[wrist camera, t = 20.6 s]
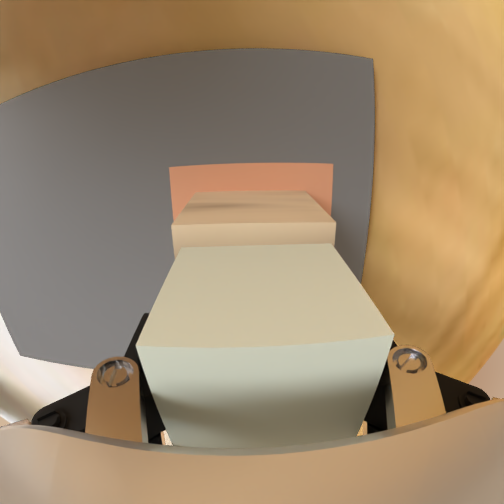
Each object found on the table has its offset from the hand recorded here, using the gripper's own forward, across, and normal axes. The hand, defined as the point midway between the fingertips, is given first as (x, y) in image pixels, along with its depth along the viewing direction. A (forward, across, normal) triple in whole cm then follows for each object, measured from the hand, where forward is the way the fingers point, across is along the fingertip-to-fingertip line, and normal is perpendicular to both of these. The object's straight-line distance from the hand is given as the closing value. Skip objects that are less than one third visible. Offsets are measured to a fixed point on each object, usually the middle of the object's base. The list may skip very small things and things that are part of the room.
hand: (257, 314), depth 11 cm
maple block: (+7, 0, 0) cm, 7 cm away
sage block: (0, 0, 0) cm, 0 cm away
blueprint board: (+8, +8, 0) cm, 12 cm away
